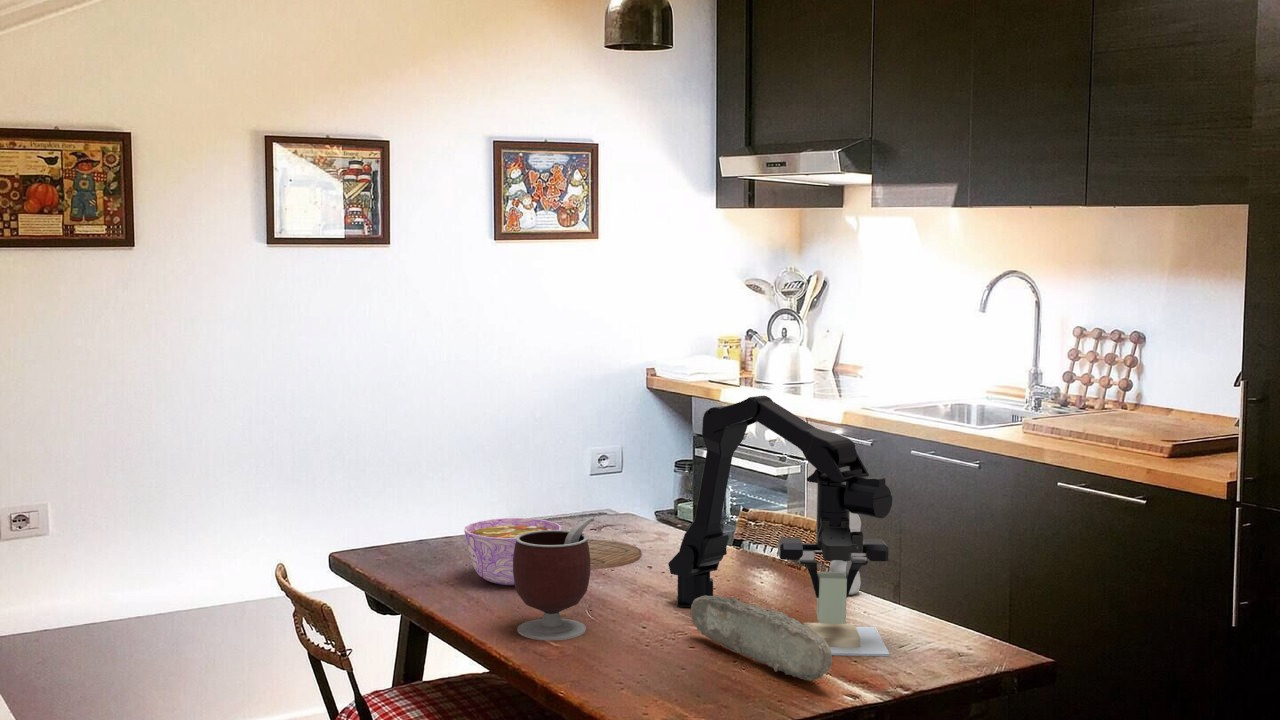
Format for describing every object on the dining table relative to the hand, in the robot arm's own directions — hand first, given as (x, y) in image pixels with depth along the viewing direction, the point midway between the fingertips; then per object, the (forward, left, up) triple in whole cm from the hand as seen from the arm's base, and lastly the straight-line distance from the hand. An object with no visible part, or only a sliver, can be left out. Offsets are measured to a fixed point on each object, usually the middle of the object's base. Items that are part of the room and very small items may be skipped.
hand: (831, 597), depth 228 cm
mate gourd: (-49, +4, -8) cm, 50 cm away
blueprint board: (0, 0, -8) cm, 8 cm away
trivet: (-48, +59, -8) cm, 76 cm away
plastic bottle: (+6, +32, -8) cm, 33 cm away
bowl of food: (-61, +37, -8) cm, 72 cm away
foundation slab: (0, 0, -7) cm, 7 cm away
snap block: (0, 0, -4) cm, 4 cm away
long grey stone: (-13, -13, -8) cm, 21 cm away
